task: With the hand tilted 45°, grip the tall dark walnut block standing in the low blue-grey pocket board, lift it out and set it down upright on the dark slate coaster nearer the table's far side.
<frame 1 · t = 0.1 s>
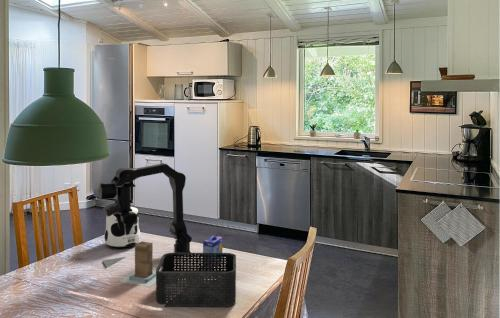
hand: (123, 232, 180), 15 cm above the table, tool pointing down, fingers open, 9 cm apart
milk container: (122, 245, 207), on the table
ink cartridge box: (212, 265, 183), on the table
slate coaster: (116, 263, 182), on the table
storage bin: (197, 296, 153), on the table
pocket board: (143, 279, 166), on the table
walnut block: (143, 277, 166), point 1 cm above the table, touching pocket board
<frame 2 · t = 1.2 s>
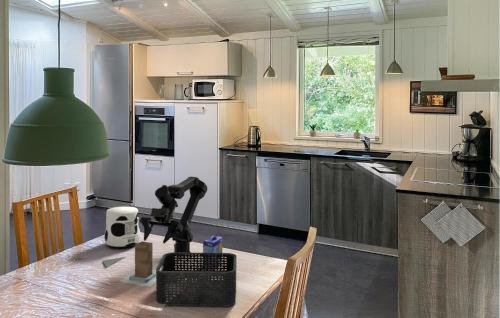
hand: (153, 241, 172), 13 cm above the table, tool tilted 45°, fingers open, 9 cm apart
nothing on the table moved.
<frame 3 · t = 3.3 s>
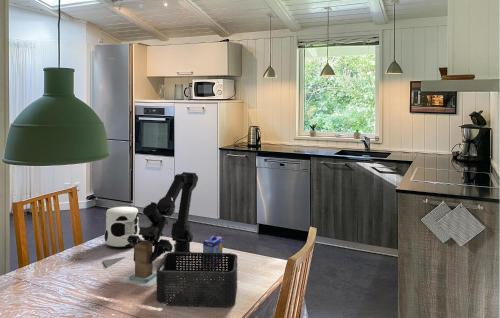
hand: (141, 262, 164), 8 cm above the table, tool tilted 45°, fingers open, 7 cm apart
walnut block: (143, 277, 166), point 1 cm above the table, touching gripper, pocket board
everything else where it was.
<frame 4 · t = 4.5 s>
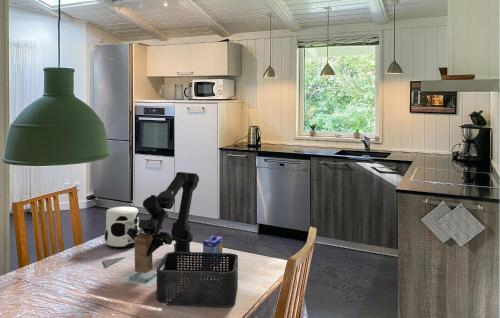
hand: (141, 255, 163), 11 cm above the table, tool tilted 45°, fingers closed on walnut block, 5 cm apart
walnut block: (143, 269, 165), point 4 cm above the table, touching gripper
everything else where it was.
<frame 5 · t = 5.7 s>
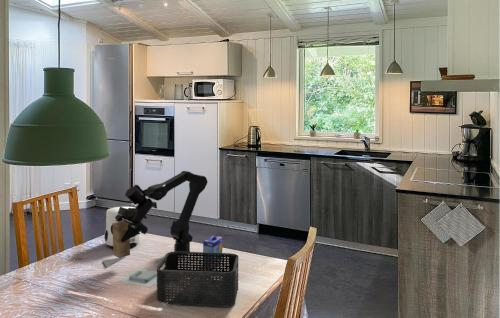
hand: (118, 240, 172), 13 cm above the table, tool tilted 45°, fingers closed on walnut block, 5 cm apart
walnut block: (121, 255, 174), point 7 cm above the table, touching gripper
when the fingers open (8 cm above the table, at t = 7.9 s): walnut block stays where it is, resting on slate coaster.
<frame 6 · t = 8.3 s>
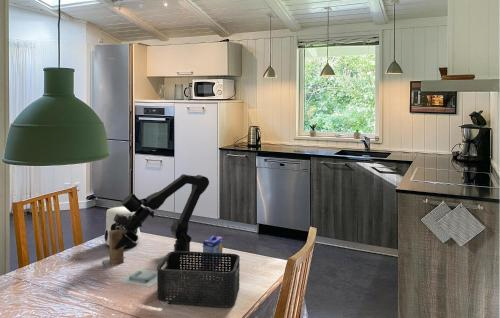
hand: (113, 245, 180), 8 cm above the table, tool tilted 45°, fingers open, 9 cm apart
walnut block: (116, 262, 182), point 1 cm above the table, touching slate coaster
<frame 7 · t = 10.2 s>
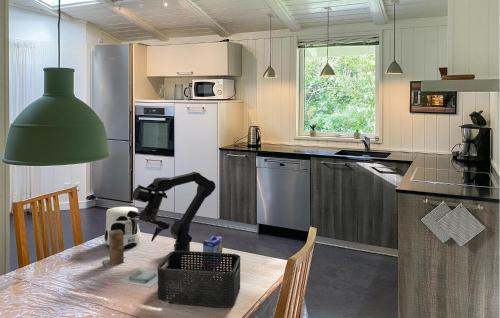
hand: (142, 238, 184), 11 cm above the table, tool tilted 20°, fingers open, 9 cm apart
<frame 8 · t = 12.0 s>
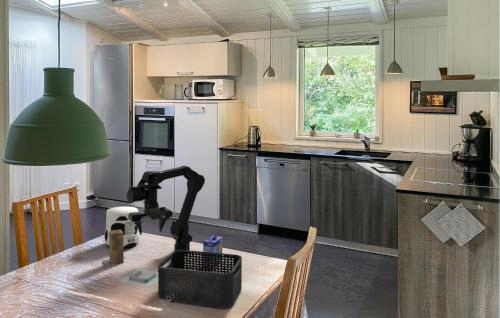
hand: (150, 233, 184), 13 cm above the table, tool pointing down, fingers open, 9 cm apart
at the end: walnut block inside the target area on the slate coaster (0.0 cm from its centre), point 0.6 cm above the slate coaster's base; walnut block tilted 0°; the gripper is holding nothing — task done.
